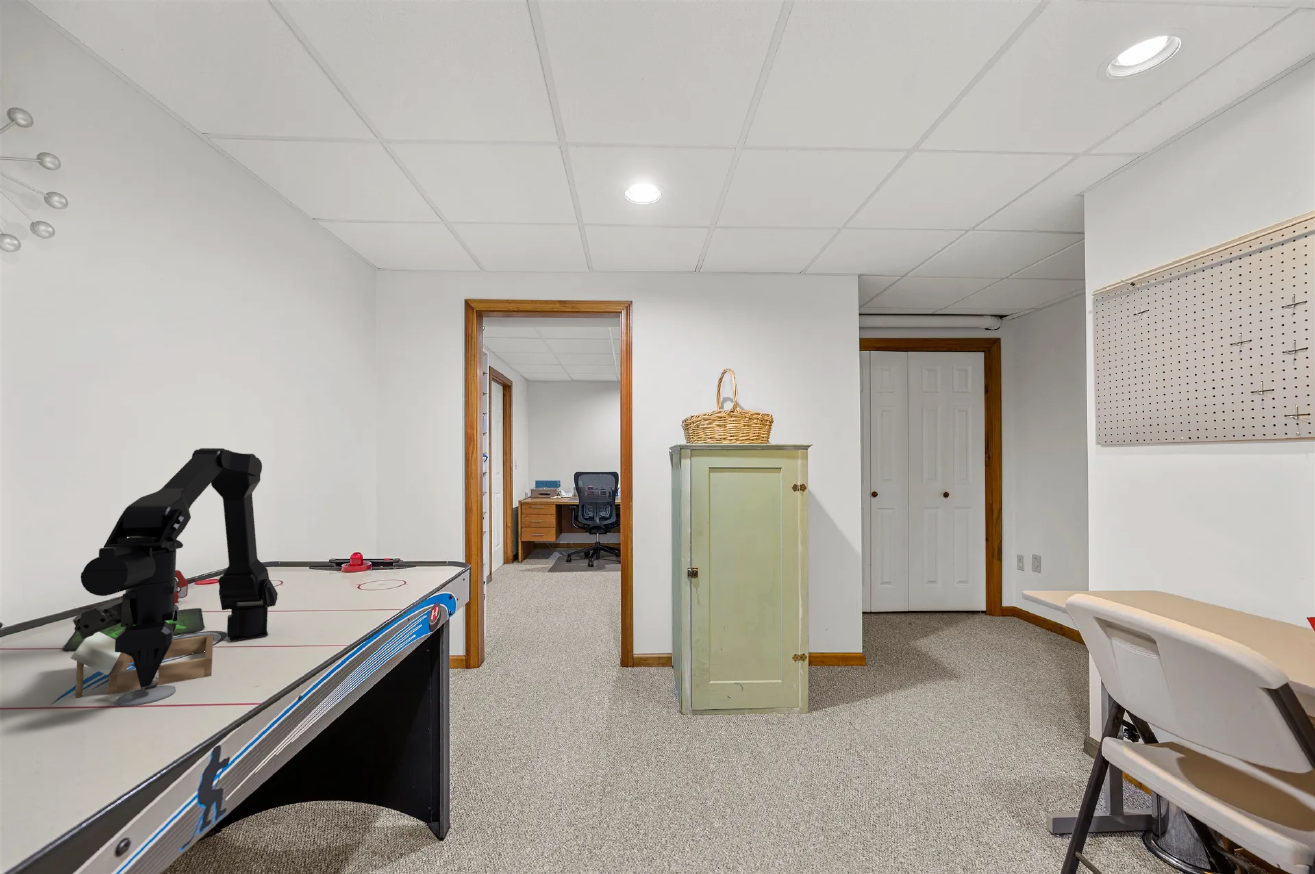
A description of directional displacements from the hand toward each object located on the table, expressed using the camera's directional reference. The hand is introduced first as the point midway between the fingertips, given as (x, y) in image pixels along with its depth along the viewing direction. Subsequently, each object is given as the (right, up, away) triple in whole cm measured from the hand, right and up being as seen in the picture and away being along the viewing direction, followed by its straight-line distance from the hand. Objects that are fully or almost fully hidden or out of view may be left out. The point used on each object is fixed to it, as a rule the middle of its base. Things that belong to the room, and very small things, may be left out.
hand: (147, 679), depth 89 cm
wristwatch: (0, -2, 0) cm, 2 cm away
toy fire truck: (-49, -5, +56) cm, 75 cm away
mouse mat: (-36, -5, +37) cm, 52 cm away
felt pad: (0, -3, 0) cm, 3 cm away
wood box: (-9, -3, +10) cm, 14 cm away
